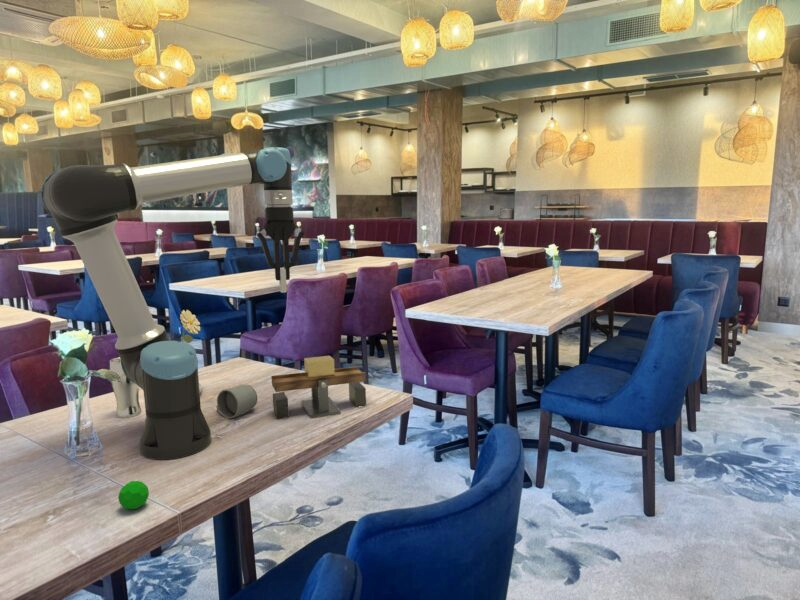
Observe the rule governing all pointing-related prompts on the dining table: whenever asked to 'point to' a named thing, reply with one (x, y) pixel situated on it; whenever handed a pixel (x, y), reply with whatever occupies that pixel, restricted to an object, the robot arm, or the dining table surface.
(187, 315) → the flower in vase
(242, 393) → the ceramic mug
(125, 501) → the polyhedron
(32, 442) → the dining table surface
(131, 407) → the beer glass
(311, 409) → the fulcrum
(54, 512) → the dining table surface
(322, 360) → the block
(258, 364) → the dining table surface
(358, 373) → the beam
